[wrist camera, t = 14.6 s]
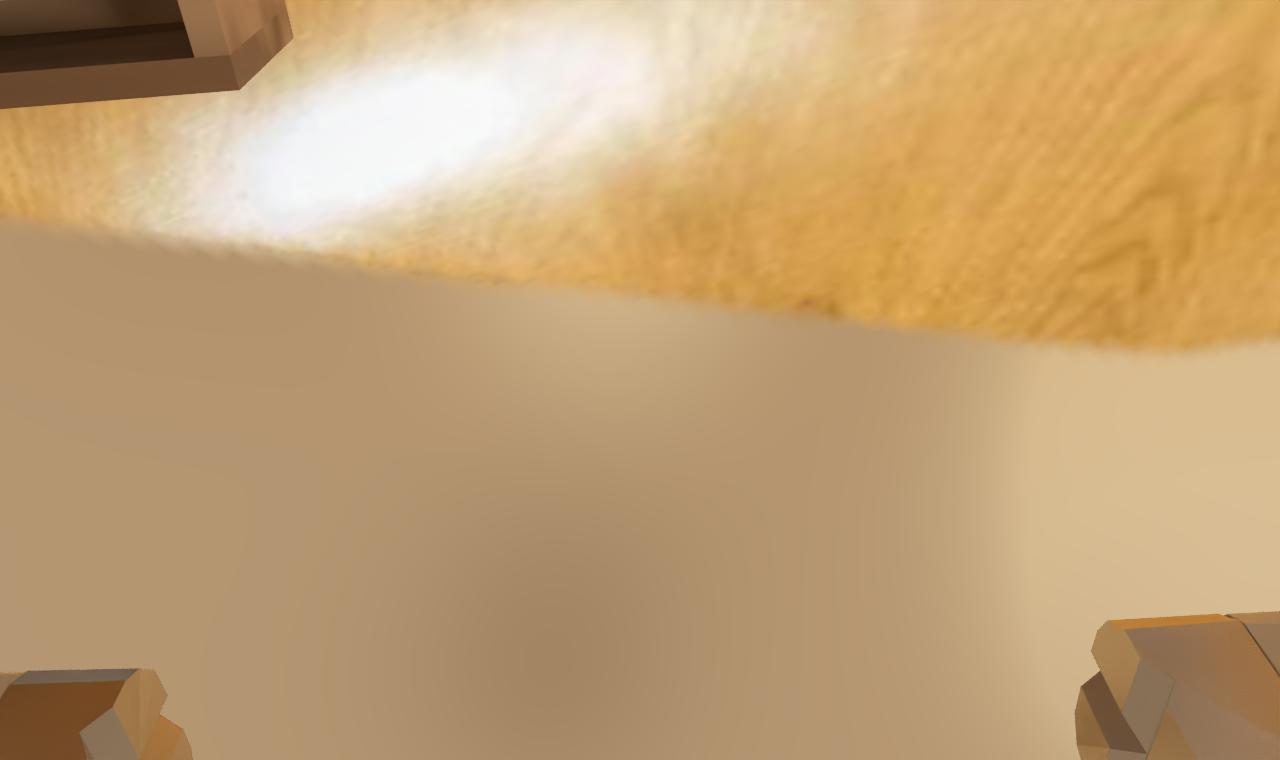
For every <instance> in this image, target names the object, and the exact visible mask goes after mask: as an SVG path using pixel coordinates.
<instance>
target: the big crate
mask: <svg viewBox="0 0 1280 760" xmlns="http://www.w3.org/2000/svg"><path fill="white" fill-rule="evenodd" d="M292 39H293V34H292V30H291V25H290V21H289V17H288V13H287V9H286V5H285V1H284V0H0V109H6V108H19V107H31V106H44V105H57V104H69V103H82V102H94V101H107V100H120V99H132V98H145V97H157V96H170V95H183V94H195V93H208V92H220V91H233V90H240V89H241V88H242V87H243V86H244V85H245V84H246V83H247V82H248V81H249V80H250V79H251V78H252V77H254V76H255V75H256V74H257V73H258V72H259V71H260V70H261V69H262V68H263V67H264V66H265V65H266V64H267V63H268V62H269V61H270V60H271V59H272V58H273V57H274V56H275V55H276V54H277V53H278V52H279V51H280V50H281V49H282V48H284V47H285V46H286V45H287V44H288V43H289V42H290V41H291V40H292Z"/></svg>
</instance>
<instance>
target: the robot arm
mask: <svg viewBox="0 0 1280 760" xmlns="http://www.w3.org/2000/svg"><path fill="white" fill-rule="evenodd" d="M1091 652H1092V654H1093V656H1094V658H1095V660H1096V662H1097V664H1098V666H1099V668H1100V670H1101V671H1099V672H1098V673H1097V674H1096V675H1095V676H1093V677H1092V678H1091V679H1090V680H1089V681H1087V682H1086V683H1085V684H1083V685H1082V686H1081V688H1080V693H1079V697H1078V701H1077V705H1076V710H1075V725H1076V740H1077V747H1078V750H1079V754H1080V757H1081V760H1280V611H1279V612H1259V613H1240V614H1227V615H1220V614H1210V615H1194V616H1193V615H1192V616H1175V617H1159V618H1142V619H1126V620H1109V621H1106V622H1105V624H1104V625H1103V626H1102V627H1101V628H1100V629H1099V630H1098V631H1097V634H1096V637H1095V640H1094V643H1093V647H1092V650H1091ZM167 696H168V695H167V693H166V691H165V689H164V687H163V685H162V683H161V681H160V679H159V678H158V676H157V674H156V672H155V670H150V669H101V670H100V669H96V670H50V671H27V672H0V760H193V757H192V750H191V746H190V744H189V742H188V739H187V737H186V735H185V732H184V730H183V729H182V728H181V727H179V726H177V725H176V724H174V723H173V722H171V721H170V720H168V719H167V718H165V717H163V716H162V715H160V712H161V710H162V708H163V705H164V703H165V701H166V699H167Z"/></svg>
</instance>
